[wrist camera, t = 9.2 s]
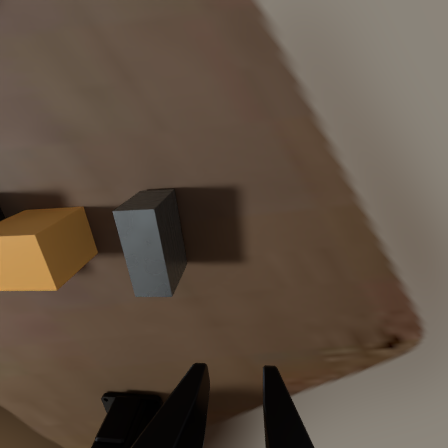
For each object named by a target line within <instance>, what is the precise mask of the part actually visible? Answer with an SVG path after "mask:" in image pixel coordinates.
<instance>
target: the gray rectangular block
mask: <svg viewBox="0 0 448 448" xmlns="http://www.w3.org/2000/svg"><path fill="white" fill-rule="evenodd" d="M112 212H113V215H114V219H115V223H116V226H117V230H118V234H119V237H120V241H121V245H122V248H123V252H124V256H125V260H126V263H127V267H128V271H129V274H130V278H131V282H132V285H133V289H134V293H135V297H172V296H173V294H174V292H175V289H176V287H177V285H178V283H179V281H180V278H181V276H182V274H183V272H184V270H185V268H186V265H187V259H186V254H185V248H184V242H183V236H182V230H181V224H180V219H179V213H178V207H177V201H176V195H175V190H174V189H165V190H148V191H140V192H138V193H137V194H135V195H134V196H133V197H131V198H130V199H129V200H127V201H126V202H124V203H123V204H122V205H120V206H119V207H118V208H116V209H115V210H114V211H112Z"/></svg>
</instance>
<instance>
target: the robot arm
mask: <svg viewBox="0 0 448 448" xmlns="http://www.w3.org/2000/svg"><path fill="white" fill-rule="evenodd" d="M209 391H210V379H209V373H208V367H207V364H205V363H195V364H193V365H192V367H191V368H190V369H189V371H188V372H187V373H186V375H185V376H184V377H183V379H182V380H181V381H180V383H179V384H178V385H177V387H176V388H175V389H174V391H173V392H172V393H171V395H170V396H169V397H168V399H167V400H166V401H165V403H164V404H163V403H162V399H161V398H160V397H158V396H149V395H131V394H113V393H105V394H104V395H103V396H102V398H101V400H102V402H103V405H104V407H105V410H106V412H107V415H106V417H105V419H104V421H103V423H102V425H101V427H100V429H99V431H98V433H97V435H96V437H95V441H94V443H93V445H92V447H91V448H203V443H204V436H205V428H206V419H207V409H208V400H209ZM263 411H264V428H265V444H266V448H314V446H313V444H312V442H311V440H310V438H309V435H308V433H307V431H306V429H305V427H304V425H303V422H302V420H301V418H300V416H299V414H298V412H297V410H296V407H295V405H294V403H293V401H292V399H291V397H290V395H289V392H288V390H287V388H286V386H285V384H284V382H283V379H282V377H281V375H280V373H279V371H278V369H277V367H276V366H266V365H265V366H264V367H263Z"/></svg>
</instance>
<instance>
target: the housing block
mask: <svg viewBox="0 0 448 448" xmlns="http://www.w3.org/2000/svg"><path fill="white" fill-rule="evenodd" d="M97 253H98V251H97V248H96V245H95V242H94V239H93V235H92V232H91V229H90V226H89V223H88V220H87V216H86V213H85V210H84V207H67V208H50V209H33V210H24V211H22V212H20V213H17V214H15V215H13V216H11V217H9V218H6V219H4V220H2V221H0V291H51V290H58V289H59V288H60V287H61V286H63V285H64V284H65V283H66V282H67V281H68V280H69V279H70V278H71V277H72V276H73V275H75V274H76V273H77V272H78V271H79V270H80V269H81V268H82V267H83V266H84V265H85V264H86V263H88V262H89V261H90V260H91V259H92V258H93V257H94V256H95V255H96V254H97Z"/></svg>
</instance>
